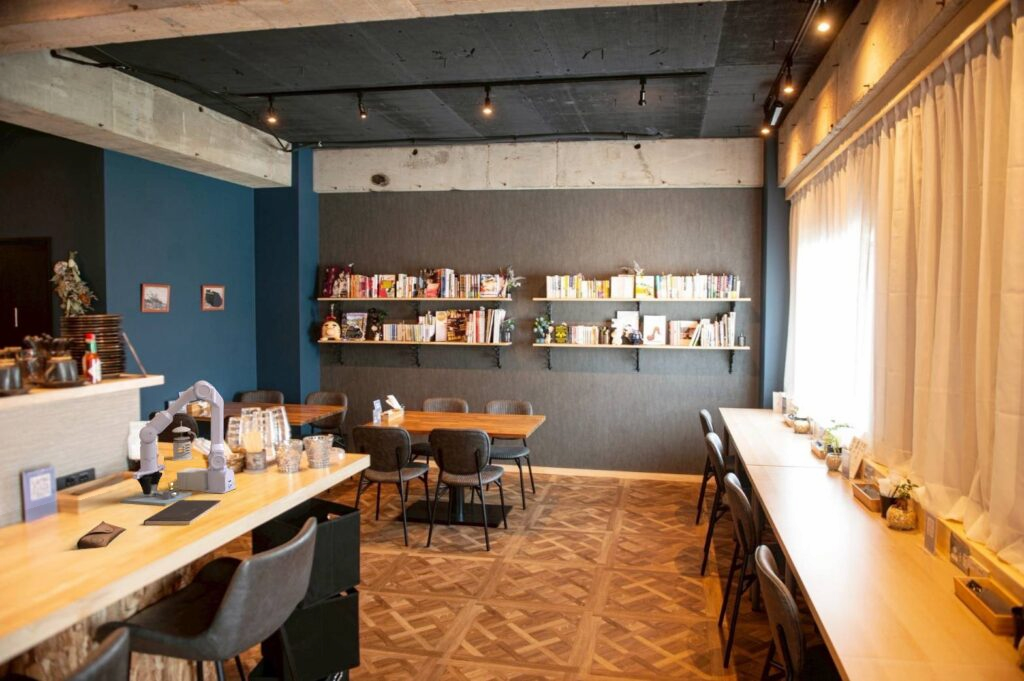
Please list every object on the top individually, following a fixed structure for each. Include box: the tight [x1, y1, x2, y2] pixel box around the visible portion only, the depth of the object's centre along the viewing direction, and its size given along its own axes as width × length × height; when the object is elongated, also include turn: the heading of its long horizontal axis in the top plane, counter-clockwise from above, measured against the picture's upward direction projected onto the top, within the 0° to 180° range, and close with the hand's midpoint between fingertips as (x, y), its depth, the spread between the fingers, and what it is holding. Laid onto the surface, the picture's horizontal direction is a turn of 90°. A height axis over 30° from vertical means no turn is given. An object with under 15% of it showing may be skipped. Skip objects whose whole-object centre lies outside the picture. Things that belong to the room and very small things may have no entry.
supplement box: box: [176, 467, 208, 492], centre depth 280 cm, size 7×7×13 cm
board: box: [119, 490, 193, 507], centre depth 265 cm, size 20×14×1 cm
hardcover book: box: [143, 499, 222, 526], centre depth 246 cm, size 16×23×2 cm
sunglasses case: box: [76, 520, 127, 550], centre depth 221 cm, size 18×7×7 cm
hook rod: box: [143, 484, 177, 497], centre depth 265 cm, size 14×3×4 cm, turn 77°
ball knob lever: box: [167, 478, 178, 490], centre depth 266 cm, size 2×6×2 cm, turn 5°
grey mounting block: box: [162, 487, 180, 500], centre depth 264 cm, size 2×6×3 cm, turn 167°
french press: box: [170, 406, 197, 462], centre depth 334 cm, size 10×12×25 cm
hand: (150, 493), depth 266 cm, fingers closed on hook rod, 3 cm apart
